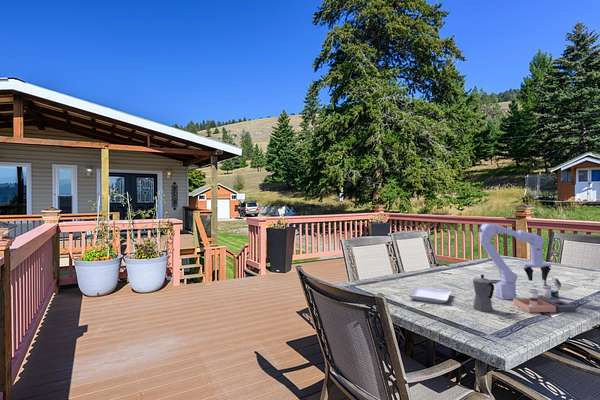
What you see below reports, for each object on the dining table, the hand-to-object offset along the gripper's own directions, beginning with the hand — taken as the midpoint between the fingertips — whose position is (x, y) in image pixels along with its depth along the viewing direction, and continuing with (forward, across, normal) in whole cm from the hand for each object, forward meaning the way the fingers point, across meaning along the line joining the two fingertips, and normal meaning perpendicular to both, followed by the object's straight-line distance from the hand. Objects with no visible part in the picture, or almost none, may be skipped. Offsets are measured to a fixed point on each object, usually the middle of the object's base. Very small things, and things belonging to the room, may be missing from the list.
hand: (537, 280), depth 194 cm
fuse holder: (+10, 0, -12) cm, 16 cm away
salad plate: (+10, -59, +5) cm, 60 cm away
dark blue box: (+11, +10, +3) cm, 15 cm away
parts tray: (+10, -13, -16) cm, 23 cm away
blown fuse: (+10, -13, -16) cm, 23 cm away
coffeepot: (+10, -39, -17) cm, 43 cm away
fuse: (+10, 0, -7) cm, 13 cm away
